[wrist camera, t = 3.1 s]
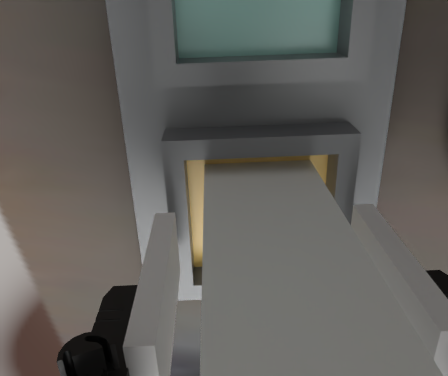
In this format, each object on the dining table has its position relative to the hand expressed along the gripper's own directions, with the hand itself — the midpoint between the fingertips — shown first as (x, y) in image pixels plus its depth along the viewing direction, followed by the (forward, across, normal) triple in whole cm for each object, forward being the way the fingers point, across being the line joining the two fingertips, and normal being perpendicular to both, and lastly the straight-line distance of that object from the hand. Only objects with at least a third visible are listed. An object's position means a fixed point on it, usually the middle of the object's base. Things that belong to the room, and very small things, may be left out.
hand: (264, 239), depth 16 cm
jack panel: (+4, 0, +5) cm, 6 cm away
